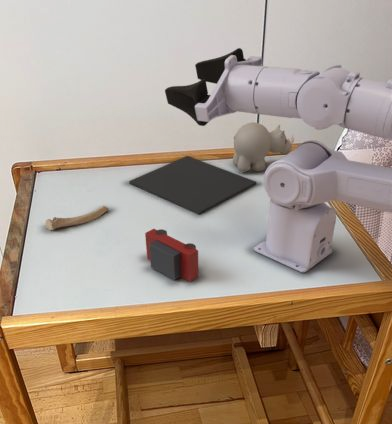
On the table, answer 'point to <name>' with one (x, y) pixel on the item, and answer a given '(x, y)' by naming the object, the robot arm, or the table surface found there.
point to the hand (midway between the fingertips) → (183, 83)
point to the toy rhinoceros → (258, 146)
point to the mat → (193, 184)
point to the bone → (74, 219)
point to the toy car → (171, 255)
